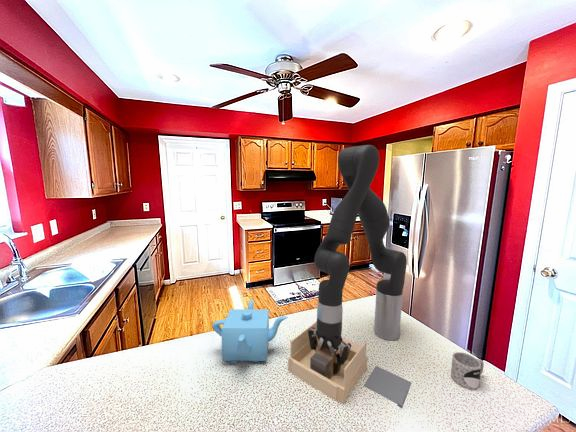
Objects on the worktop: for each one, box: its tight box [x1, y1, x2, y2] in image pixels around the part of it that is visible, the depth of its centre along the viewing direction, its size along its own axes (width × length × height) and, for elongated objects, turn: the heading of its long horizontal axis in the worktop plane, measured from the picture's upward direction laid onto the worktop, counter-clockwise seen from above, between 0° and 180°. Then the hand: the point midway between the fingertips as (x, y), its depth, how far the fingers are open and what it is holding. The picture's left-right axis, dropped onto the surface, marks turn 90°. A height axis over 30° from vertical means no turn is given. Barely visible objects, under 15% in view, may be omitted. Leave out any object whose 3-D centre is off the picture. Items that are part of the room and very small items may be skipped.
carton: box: [287, 320, 368, 405], centre depth 74 cm, size 20×18×10 cm
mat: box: [363, 365, 412, 409], centre depth 68 cm, size 10×10×1 cm
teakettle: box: [212, 299, 288, 365], centre depth 80 cm, size 19×19×15 cm
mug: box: [450, 351, 485, 391], centre depth 71 cm, size 10×7×7 cm
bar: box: [310, 345, 343, 380], centre depth 73 cm, size 12×5×6 cm, turn 141°
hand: (327, 367), depth 73 cm, fingers closed on bar, 5 cm apart
